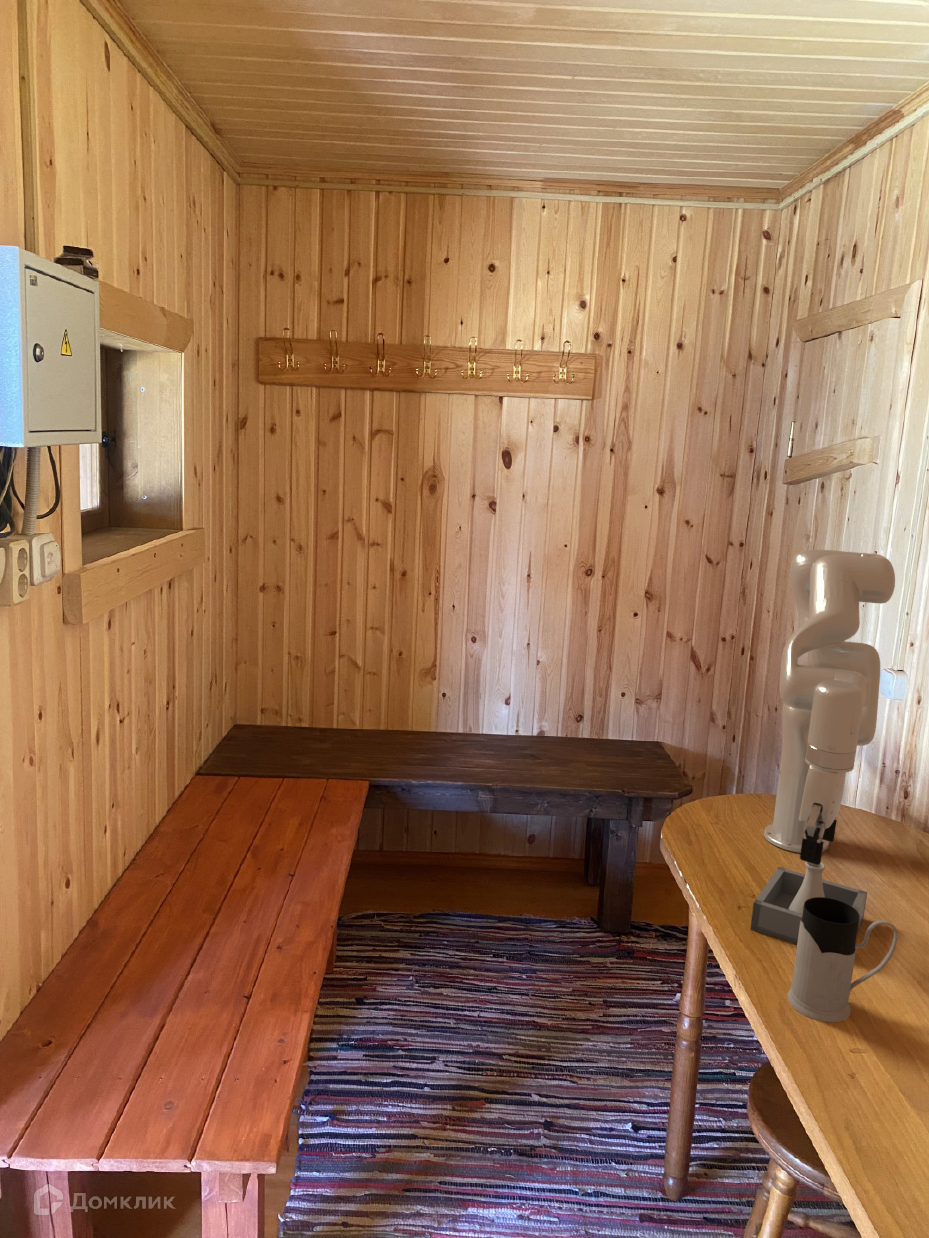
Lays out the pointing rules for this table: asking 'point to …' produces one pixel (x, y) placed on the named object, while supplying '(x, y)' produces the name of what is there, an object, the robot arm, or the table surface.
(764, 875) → the table surface
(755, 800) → the table surface
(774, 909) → the charcoal box
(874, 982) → the table surface
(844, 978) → the grey mug
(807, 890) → the flask
